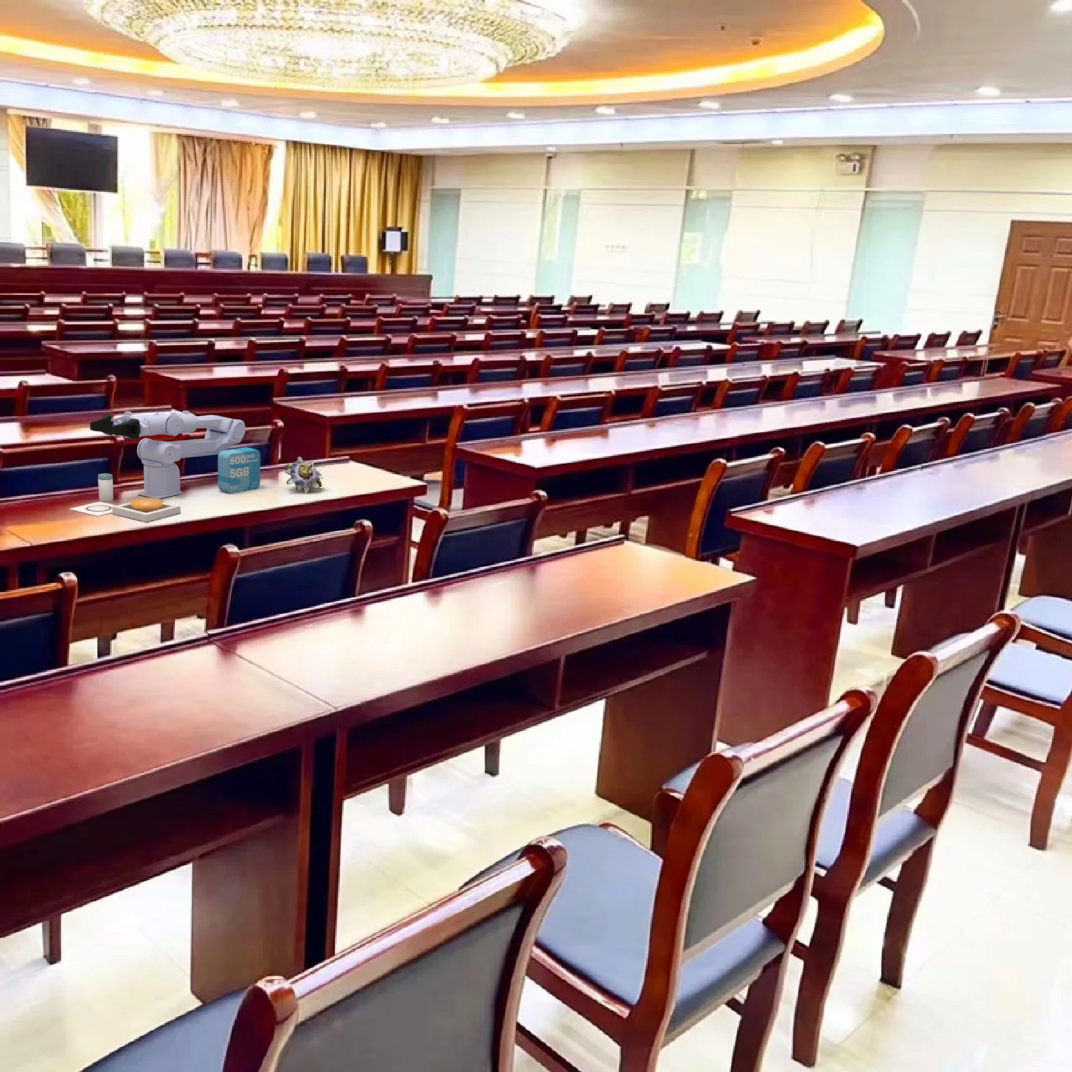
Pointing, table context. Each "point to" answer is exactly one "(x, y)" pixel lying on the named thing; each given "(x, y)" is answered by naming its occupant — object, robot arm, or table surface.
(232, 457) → the data package
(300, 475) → the passion flower
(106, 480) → the white cylindrical piece
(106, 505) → the paper sheet
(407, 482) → the table surface
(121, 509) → the button box
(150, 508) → the button
